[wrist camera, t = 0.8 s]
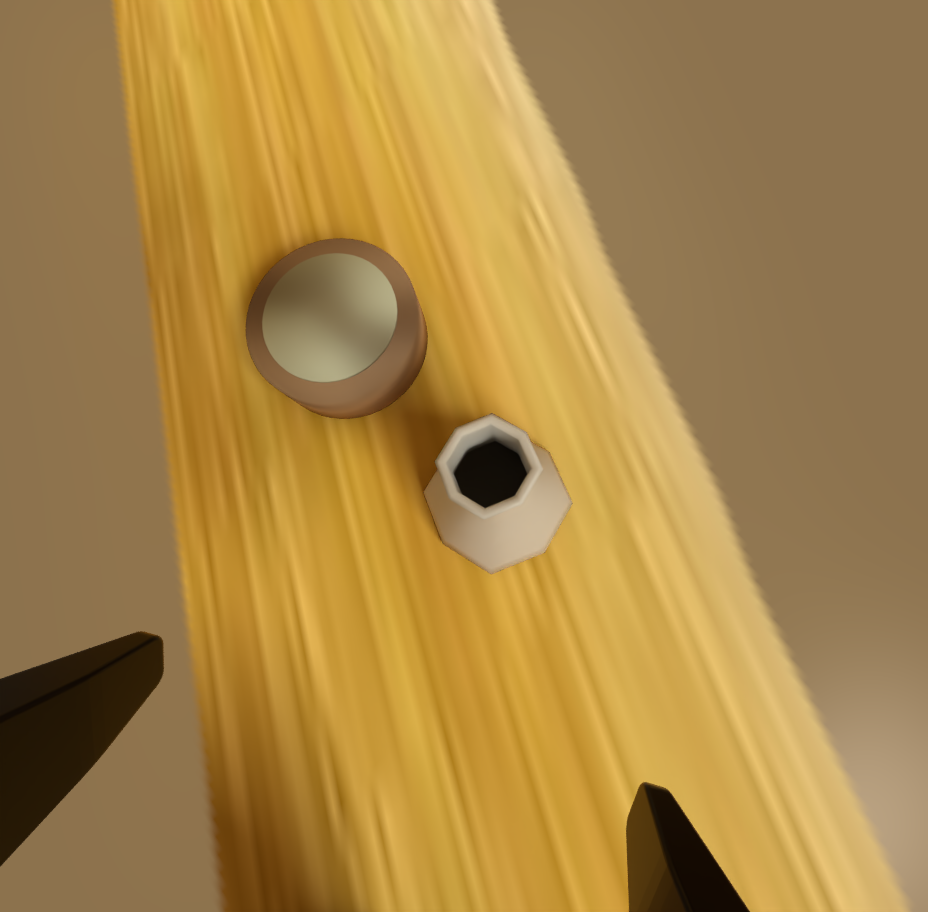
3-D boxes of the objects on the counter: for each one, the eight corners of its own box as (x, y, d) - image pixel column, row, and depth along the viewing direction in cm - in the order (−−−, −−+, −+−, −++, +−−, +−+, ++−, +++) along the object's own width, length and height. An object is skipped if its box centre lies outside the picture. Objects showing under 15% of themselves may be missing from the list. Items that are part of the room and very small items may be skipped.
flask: (400, 491, 25) (329, 454, 15) (503, 403, 25) (499, 313, 15) (489, 600, 23) (474, 638, 14) (597, 505, 24) (658, 476, 14)
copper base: (406, 432, 25) (392, 416, 22) (255, 403, 27) (221, 383, 23) (443, 283, 27) (434, 248, 24) (298, 261, 28) (272, 225, 25)
